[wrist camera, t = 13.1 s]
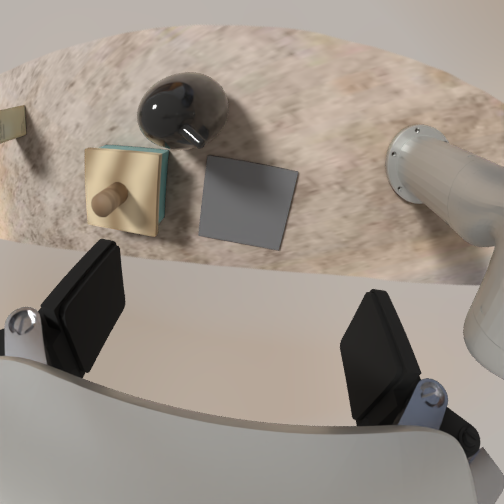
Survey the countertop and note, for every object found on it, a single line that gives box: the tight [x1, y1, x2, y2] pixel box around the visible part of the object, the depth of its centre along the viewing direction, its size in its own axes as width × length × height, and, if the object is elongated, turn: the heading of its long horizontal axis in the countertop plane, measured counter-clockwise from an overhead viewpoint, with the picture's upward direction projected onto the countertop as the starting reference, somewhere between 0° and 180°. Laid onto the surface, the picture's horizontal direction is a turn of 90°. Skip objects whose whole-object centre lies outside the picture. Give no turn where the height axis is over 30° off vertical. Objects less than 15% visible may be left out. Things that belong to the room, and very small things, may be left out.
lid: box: [85, 148, 162, 237], centre depth 35 cm, size 12×12×6 cm
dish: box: [99, 145, 169, 224], centre depth 40 cm, size 11×11×4 cm
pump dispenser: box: [137, 72, 229, 150], centre depth 29 cm, size 10×10×15 cm
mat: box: [198, 155, 298, 250], centre depth 42 cm, size 13×13×1 cm
